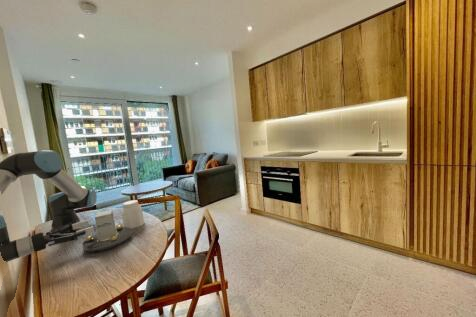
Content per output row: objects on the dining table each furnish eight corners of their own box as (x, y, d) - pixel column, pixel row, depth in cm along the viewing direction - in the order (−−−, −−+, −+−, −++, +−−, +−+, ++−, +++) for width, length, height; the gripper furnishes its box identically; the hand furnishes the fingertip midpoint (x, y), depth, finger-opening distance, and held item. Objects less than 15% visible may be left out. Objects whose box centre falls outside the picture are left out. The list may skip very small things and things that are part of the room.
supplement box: (98, 241, 106) (93, 217, 105) (101, 235, 113) (96, 212, 111) (115, 236, 109) (110, 213, 108) (116, 231, 116) (112, 209, 114)
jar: (124, 230, 125) (120, 206, 123) (123, 225, 133) (119, 202, 131) (145, 224, 131) (141, 201, 129) (143, 220, 139) (139, 198, 137)
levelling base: (91, 238, 118) (90, 229, 118) (134, 229, 125) (133, 220, 125) (76, 259, 98) (74, 248, 97) (128, 246, 105) (127, 236, 104)
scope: (76, 210, 128) (74, 214, 120) (81, 231, 130) (79, 237, 122) (59, 214, 124) (56, 219, 116) (64, 236, 126) (61, 242, 117)
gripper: (33, 243, 100) (87, 226, 115) (34, 262, 82) (97, 239, 97) (30, 228, 99) (84, 213, 114) (30, 244, 82) (94, 224, 96)
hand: (90, 225), depth 106 cm, fingers open, 13 cm apart
